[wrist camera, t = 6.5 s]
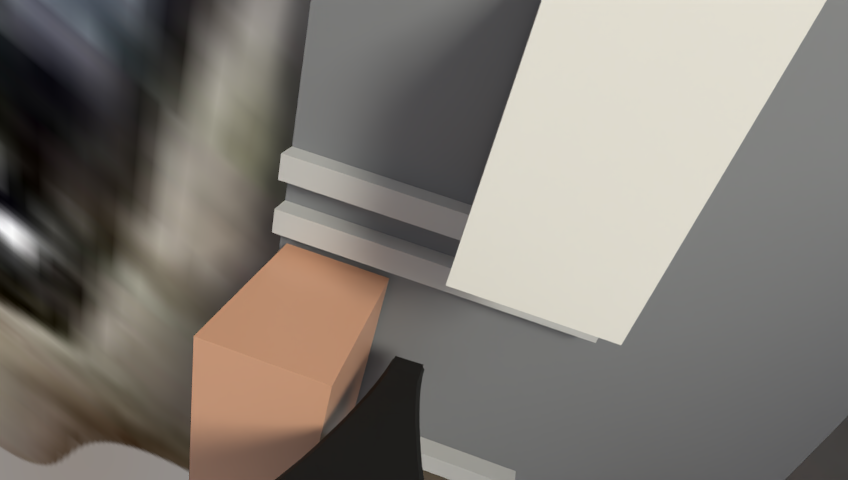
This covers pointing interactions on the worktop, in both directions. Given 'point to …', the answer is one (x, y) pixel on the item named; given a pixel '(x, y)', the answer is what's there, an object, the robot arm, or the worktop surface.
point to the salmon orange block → (280, 365)
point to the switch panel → (550, 342)
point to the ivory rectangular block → (617, 149)
